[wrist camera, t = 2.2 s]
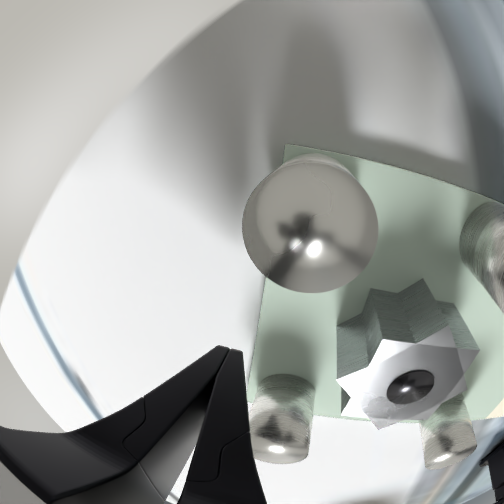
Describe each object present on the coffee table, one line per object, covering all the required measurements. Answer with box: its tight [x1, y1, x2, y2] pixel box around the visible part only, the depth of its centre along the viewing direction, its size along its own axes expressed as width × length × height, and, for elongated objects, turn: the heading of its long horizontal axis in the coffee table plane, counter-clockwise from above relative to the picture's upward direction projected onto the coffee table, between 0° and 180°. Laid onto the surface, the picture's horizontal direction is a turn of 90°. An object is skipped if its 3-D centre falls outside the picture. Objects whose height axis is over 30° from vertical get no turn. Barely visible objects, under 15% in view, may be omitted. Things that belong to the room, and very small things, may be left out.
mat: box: [247, 144, 504, 423], centre depth 10 cm, size 22×13×1 cm, turn 84°
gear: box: [336, 278, 480, 429], centre depth 9 cm, size 6×6×3 cm
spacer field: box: [242, 153, 504, 470], centre depth 8 cm, size 18×13×4 cm
